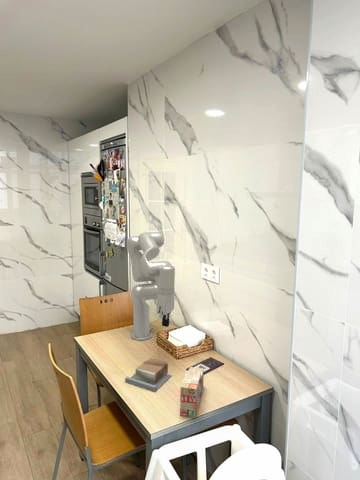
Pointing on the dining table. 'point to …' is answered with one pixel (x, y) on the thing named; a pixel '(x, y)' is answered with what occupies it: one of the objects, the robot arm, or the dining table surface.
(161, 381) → the mat
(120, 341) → the dining table surface
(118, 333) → the dining table surface
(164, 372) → the walnut block
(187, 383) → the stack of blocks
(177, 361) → the dining table surface
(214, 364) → the chocolate bar
